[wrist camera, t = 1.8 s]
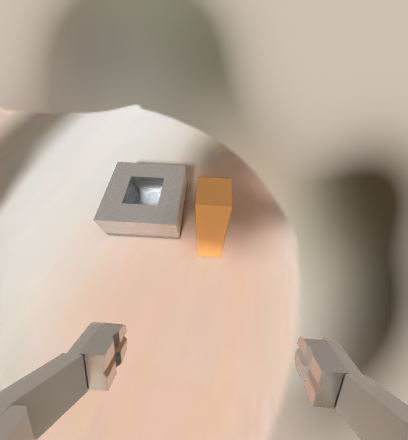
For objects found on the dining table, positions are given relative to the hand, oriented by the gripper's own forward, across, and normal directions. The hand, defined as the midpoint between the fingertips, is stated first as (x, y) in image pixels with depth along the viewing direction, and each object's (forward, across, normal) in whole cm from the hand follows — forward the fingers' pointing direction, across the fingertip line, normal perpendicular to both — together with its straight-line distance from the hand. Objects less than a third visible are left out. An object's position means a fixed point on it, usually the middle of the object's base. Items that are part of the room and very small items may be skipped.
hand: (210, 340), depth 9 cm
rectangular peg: (+21, 0, +4) cm, 22 cm away
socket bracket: (+26, +11, -1) cm, 28 cm away
